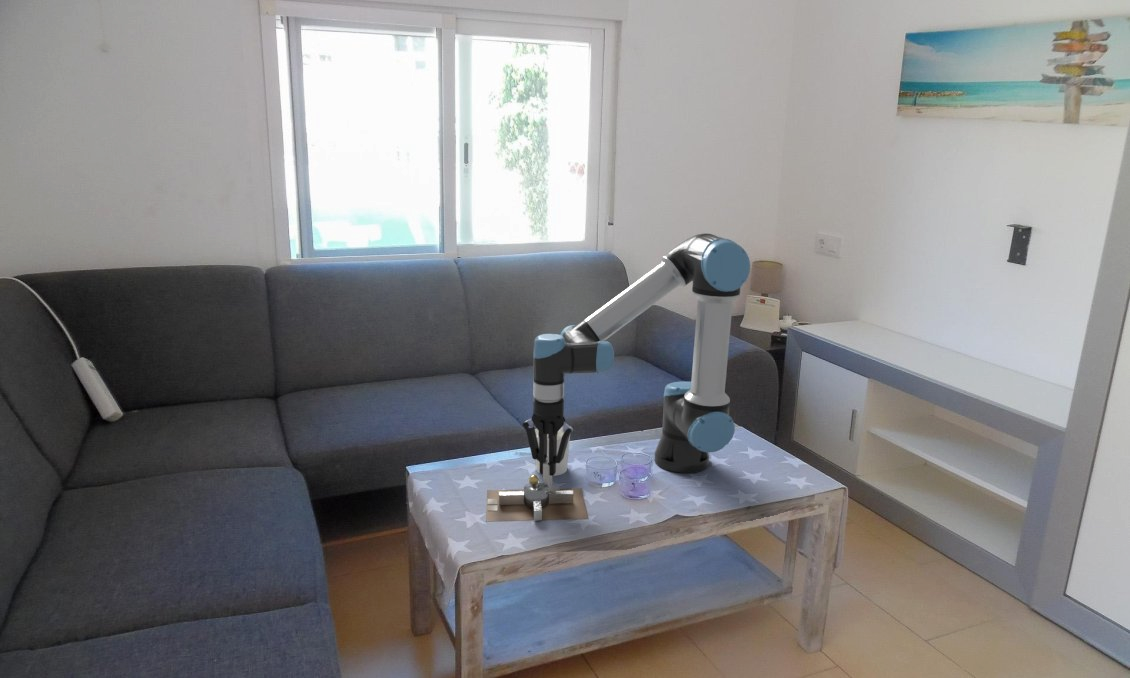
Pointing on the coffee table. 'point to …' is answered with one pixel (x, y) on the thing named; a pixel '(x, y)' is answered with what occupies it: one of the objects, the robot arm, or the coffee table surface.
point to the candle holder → (563, 464)
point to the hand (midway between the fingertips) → (547, 485)
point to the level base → (526, 514)
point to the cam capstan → (536, 496)
